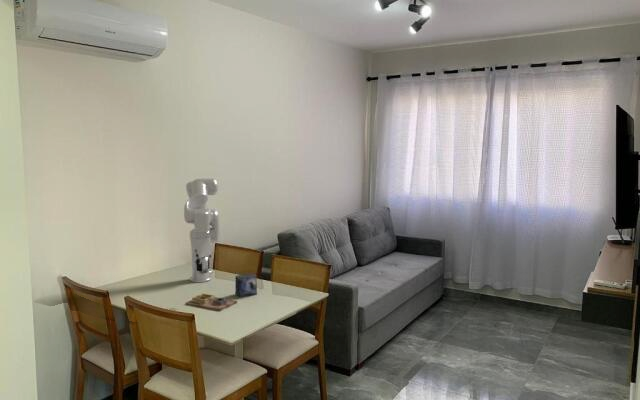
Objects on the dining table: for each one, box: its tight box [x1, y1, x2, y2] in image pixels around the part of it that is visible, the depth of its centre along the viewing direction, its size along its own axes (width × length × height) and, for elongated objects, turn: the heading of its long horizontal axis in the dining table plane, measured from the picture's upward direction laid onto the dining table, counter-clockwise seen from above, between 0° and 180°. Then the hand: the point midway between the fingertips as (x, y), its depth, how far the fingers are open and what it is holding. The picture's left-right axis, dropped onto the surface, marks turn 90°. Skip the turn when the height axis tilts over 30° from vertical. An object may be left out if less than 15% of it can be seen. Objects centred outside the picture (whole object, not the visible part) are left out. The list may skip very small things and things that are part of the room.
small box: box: [234, 273, 258, 298], centre depth 264 cm, size 11×6×10 cm, turn 117°
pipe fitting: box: [198, 256, 209, 273], centre depth 249 cm, size 5×5×8 cm
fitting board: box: [185, 292, 238, 312], centre depth 249 cm, size 14×22×3 cm, turn 64°
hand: (203, 269), depth 250 cm, fingers closed on pipe fitting, 5 cm apart
